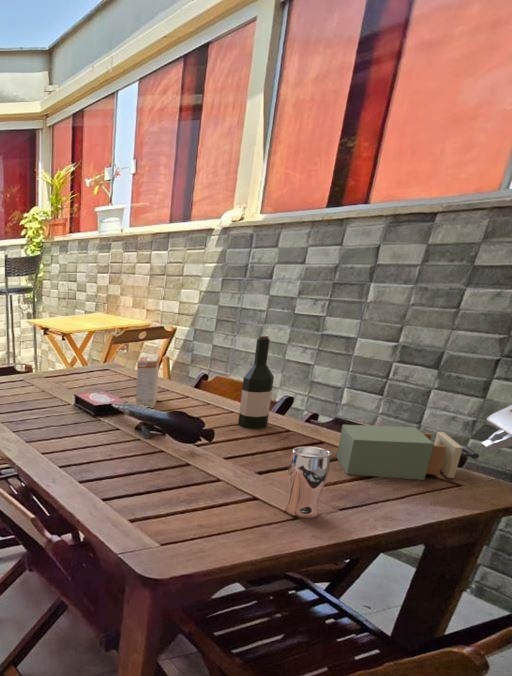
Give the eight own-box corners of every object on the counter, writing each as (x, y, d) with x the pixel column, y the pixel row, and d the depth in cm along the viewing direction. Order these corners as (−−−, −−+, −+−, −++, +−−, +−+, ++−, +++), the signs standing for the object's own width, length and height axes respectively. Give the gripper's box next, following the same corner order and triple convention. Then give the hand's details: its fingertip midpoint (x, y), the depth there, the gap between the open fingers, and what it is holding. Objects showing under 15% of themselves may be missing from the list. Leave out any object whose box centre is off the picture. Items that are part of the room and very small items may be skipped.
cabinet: (407, 461, 130) (415, 427, 126) (424, 480, 120) (434, 443, 116) (336, 457, 137) (342, 424, 134) (346, 474, 127) (353, 439, 124)
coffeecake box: (139, 398, 211) (141, 353, 205) (157, 399, 208) (160, 353, 201) (134, 408, 199) (136, 360, 193) (154, 408, 196) (156, 360, 189)
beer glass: (311, 505, 114) (322, 445, 109) (326, 519, 108) (338, 457, 103) (277, 504, 116) (286, 446, 111) (289, 518, 110) (299, 457, 105)
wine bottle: (240, 428, 165) (250, 339, 155) (236, 421, 172) (245, 335, 162) (269, 429, 162) (282, 337, 152) (264, 421, 169) (276, 333, 159)
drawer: (458, 462, 124) (466, 433, 122) (478, 479, 115) (488, 448, 113) (367, 456, 133) (373, 429, 130) (379, 472, 124) (385, 443, 121)
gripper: (525, 388, 117) (456, 425, 126) (577, 413, 101) (494, 453, 109) (546, 407, 117) (476, 442, 125) (602, 435, 100) (517, 473, 109)
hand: (485, 448), depth 117 cm, fingers closed
